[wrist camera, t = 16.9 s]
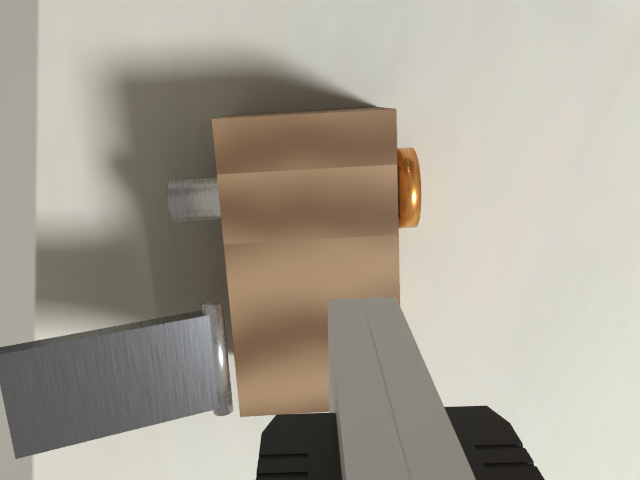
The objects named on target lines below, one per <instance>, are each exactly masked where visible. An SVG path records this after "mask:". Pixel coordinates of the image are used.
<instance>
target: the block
mask: <svg viewBox="0 0 640 480" xmlns="http://www.w3.org/2000/svg"><path fill="white" fill-rule="evenodd" d="M211 120H212V130H213V140H214V151H215V161H216V171H217V182H218V192H219V202H220V212H221V223H222V233H223V243H224V254H225V264H226V274H227V285H228V295H229V305H230V316H231V326H232V336H233V347H234V357H235V367H236V378H237V388H238V398H239V409H240V417H246V416H262V415H278V414H296V413H312V412H329V411H330V405H329V349H328V299H354V298H390V297H396V298H397V301H398V303H399V305H400V284H399V230H398V177H397V124H396V109H391V108H382V107H370V108H351V109H333V110H314V111H296V112H277V113H259V114H240V115H228V116H224V117H219V118H214V119H211Z"/></svg>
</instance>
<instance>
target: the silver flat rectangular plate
mask: <svg viewBox="0 0 640 480" xmlns="http://www.w3.org/2000/svg"><path fill="white" fill-rule="evenodd" d="M0 386H1V391H2V396H3V400H4V405H5V410H6V415H7V419H8V424H9V429H10V433H11V438H12V443H13V448H14V453H15V458H16V459H18V458H22V457H26V456H29V455H34V454H38V453H42V452H46V451H50V450H54V449H58V448H62V447H66V446H70V445H74V444H78V443H82V442H86V441H90V440H94V439H98V438H102V437H106V436H110V435H114V434H118V433H122V432H126V431H130V430H134V429H138V428H142V427H146V426H150V425H154V424H158V423H162V422H166V421H170V420H175V419H179V418H183V417H187V416H191V415H195V414H199V413H203V412H207V411H211V410H213V413H214V414H215V415H217V416H225V415H228V414H230V413H231V412H232V411H233V403H232V393H231V383H230V373H229V363H228V353H227V343H226V333H225V323H224V313H223V303H222V301H221V300H209V301H205V302H203V303H202V310H201V311H196V312H190V313H185V314H179V315H174V316H169V317H163V318H158V319H152V320H147V321H141V322H136V323H131V324H125V325H120V326H114V327H109V328H103V329H98V330H92V331H87V332H82V333H76V334H71V335H65V336H60V337H54V338H49V339H43V340H38V341H33V342H27V343H22V344H16V345H11V346H5V347H0Z"/></svg>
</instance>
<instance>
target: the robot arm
mask: <svg viewBox="0 0 640 480" xmlns="http://www.w3.org/2000/svg"><path fill="white" fill-rule="evenodd" d="M328 349H329V405H330V413H310V414H278V415H276V416H275V417H274V418H273V420H272V421H271V422H270V423H269V425H268V426H267V427H266V428H265V430H264V431H263V432H262V435H261V443H260V451H259V459H258V466H257V478H256V480H544V478H543V476H542V475H541V473H540V471H539V470H538V468H537V467H536V466H534V462H533V460H532V458H531V457H530V455H529V453H528V452H527V450H526V449H525V448H523V444H522V442H521V440H520V439H519V437H518V436H517V434H516V432H515V431H514V429H513V427H512V426H511V424H510V423H509V422H508V421H506V420H505V419H504V418H502V417H501V416H500V415H498V414H497V413H496V412H494V411H493V410H492V409H490V408H489V407H488V406H463V407H444V406H443V403H442V401H441V399H440V397H439V394H438V392H437V390H436V387H435V385H434V383H433V381H432V378H431V376H430V374H429V371H428V369H427V367H426V365H425V362H424V360H423V358H422V355H421V353H420V351H419V349H418V346H417V344H416V342H415V340H414V337H413V335H412V333H411V330H410V328H409V326H408V324H407V321H406V319H405V317H404V314H403V312H402V310H401V308H400V305H399V303H398V301H397V298H396V297H390V298H354V299H328Z"/></svg>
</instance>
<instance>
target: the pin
mask: <svg viewBox="0 0 640 480" xmlns="http://www.w3.org/2000/svg"><path fill="white" fill-rule="evenodd" d="M397 177H398V228H410V227H417V225H418V223H419V219H420V211H421V179H420V169H419V163H418V158H417V154H416V152H415V150H414V148H398V149H397ZM167 204H168V210H169V215H170V217H171V220H172V221H173V222H177V221H195V220H213V219H221V212H220V202H219V192H218V182H217V178H204V179H186V180H170V181H169V183H168V188H167Z"/></svg>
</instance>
